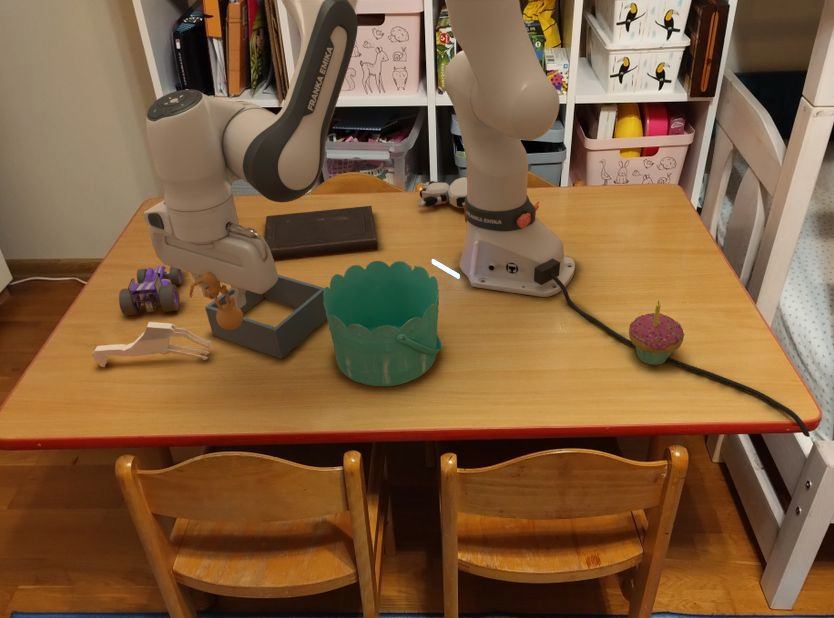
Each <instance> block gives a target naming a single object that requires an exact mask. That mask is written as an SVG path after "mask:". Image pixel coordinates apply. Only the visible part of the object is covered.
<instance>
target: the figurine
mask: <svg viewBox="0 0 834 618" xmlns="http://www.w3.org/2000/svg"><path fill="white" fill-rule="evenodd" d="M201 282H205V283H206V284H207V285H208V286H209V287H210V288H208V289H207V291H208V293H209V294H210V295H211V296H213V297H214V299H213V301H214V302H215V304H217V306H218V308H219V309H218V311H217V313H216V320H217V323H218V324H219V325H220V326H221V327H222V328H224V329H226V330H233V329H236V328H238V327H239V326H240V325H241V323H242V321H243V317H244V314H243V313H242V311H241V309H240V308H237V307H234V306H231V304H230V303H229V301H230V300H229V289H227V285H225V284H222V285H221V282H219V281H217V279H216V277H215V276H214V274H212V273H211V272H209V271H206V272H205V273H204V275H203V276H201V277H200V278H199V279H198V280H196V281H195V280H194V281H193V282H192V283H191V284H190V289H189V293H188V295H189V298H190V299H192V298H193V296H194V288H195V287H196V286H199V285H198V284H200V283H201ZM218 293H219V294H220V293H221V295H222V294H226V297H225V301H226V303H227V304H225V305H223V306H221V305H220V304H219V299H218V296H217V294H218Z"/></svg>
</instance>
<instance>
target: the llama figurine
mask: <svg viewBox="0 0 834 618" xmlns="http://www.w3.org/2000/svg"><path fill="white" fill-rule="evenodd" d="M178 337H179V338H180V337H183V338H185V339H187V340H189V341H191V342H193V343H195V344H198V345H200V346H202V347H205V348H206V349H208V350H209V349H210V347H211V344H212V341H213V340H211V338H209V340H208V339H206V338H204V337H201V336H198V335H196V334H195V333H193V332H191V331H190V330H189V329H188V328H181V327H176V325H175V324H174V323H171V322H170V323H169V322H156V321H148V323H147V325H146V328H145V330H144V331H143V332H142V333H141V334H140V335H139V336H138V337H137V338H136V339H135V340H134V341H133V342H130V343H129V344H125V343H119V344H118V343H117V344H101V345H97V346H96V347H95V349H94V350H93V352H92V354H91V357H92V358H93V360H94V361H95V362H96V363H97V364H98V365H99V367H102V368H105V367H106V364H107V363H108V361H107V359H108V357H109V356H119V357H141V356H143V357H144V356H151V355H157V354H160V355H164V356H165V355H168V354H175V355H182V356H183V355H184V356H189V357H194V358H199V359H200V358H201V359H202V360H203V361H205V360H208V359H209V357H208V356H207V355H208V354H210V351H207V350H204V349H199V348H198V349H197V348H194V347H187V346H183V345H179V344H174V343H170V341H171V338H178ZM185 351H186V352H185ZM196 353H198V354H196ZM200 354H204V355H200Z"/></svg>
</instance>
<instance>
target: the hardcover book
mask: <svg viewBox="0 0 834 618" xmlns="http://www.w3.org/2000/svg"><path fill="white" fill-rule="evenodd" d="M374 220H375V218H374V214H373V206H372V205H363V206H354V207H343V208H335V209H334V208H333V209H324V210H314V211H304V212H303V211H302V212H292V213H284V214H272V215H266V217H265V226H264V227H265V228H264V236H263V238H264V239H265V241H266V243H267V244H268V246H269V249H270V251H271V254H272V257H273V260H274V261H277V260H285V259H297V258H306V257H315V256H325V255H334V254H343V253H353V252H362V251H373V250H378V249H379V245H378V239H377V232H376V225H375V221H374Z"/></svg>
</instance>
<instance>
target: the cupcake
mask: <svg viewBox="0 0 834 618" xmlns="http://www.w3.org/2000/svg"><path fill="white" fill-rule="evenodd" d="M654 309H655V311H654V312H651V313H645V314H642V315H638V316H637V317H636V318H635V319H634V320H632V321H631V322H630V324H629V328H628V336H629V340H630V341H631V342H632V343H633V344H634V345H635V346H636V348H635V349H636V350H635V351H636V356H637V357H638V359H639V360H640V361H641V362H643V363H645V364H648V365H653V366H655V365H656V366H657V365H661V364H664V363H666V359H667V358H668V357H669V358H670V355H672V353H673V352H674V351H677V350H678V349H680V348H681V346H682V343H683V342H684V337H685V333H684V329H683V327H682V325H681V323H679V322H678V321H677V320H675V319H674V318H672V317H671V316H668V315H667V314H663V313H660V311H661V303H660V300H657V303H655V308H654Z"/></svg>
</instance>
